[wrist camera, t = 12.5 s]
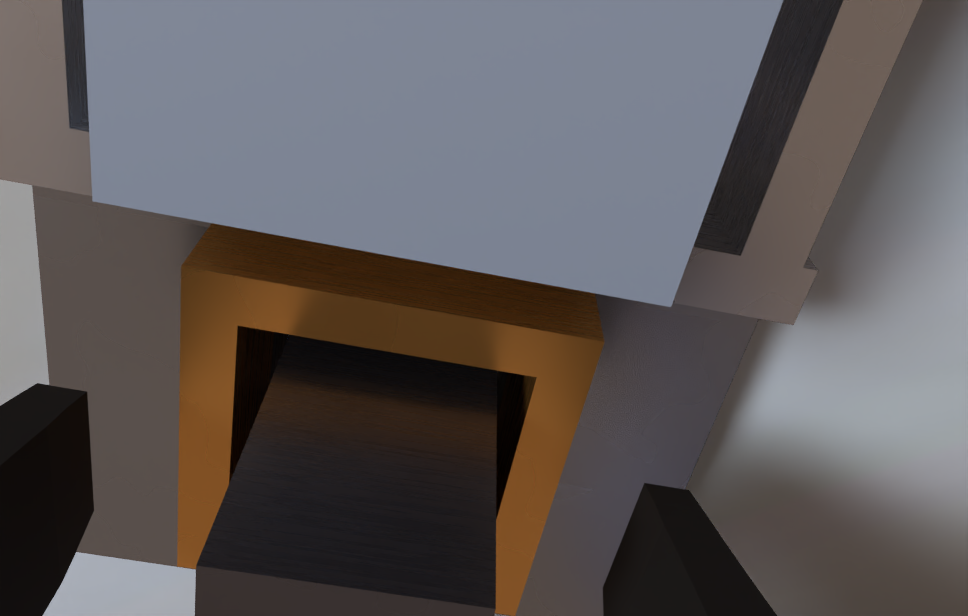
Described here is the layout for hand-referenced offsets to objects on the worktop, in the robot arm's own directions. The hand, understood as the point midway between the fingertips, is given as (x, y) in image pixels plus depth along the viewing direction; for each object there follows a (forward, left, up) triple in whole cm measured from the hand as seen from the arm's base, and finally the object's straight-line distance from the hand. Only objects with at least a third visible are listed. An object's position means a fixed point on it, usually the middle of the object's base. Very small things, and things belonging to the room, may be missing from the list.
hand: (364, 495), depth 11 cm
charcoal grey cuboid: (0, 0, -4) cm, 4 cm away
